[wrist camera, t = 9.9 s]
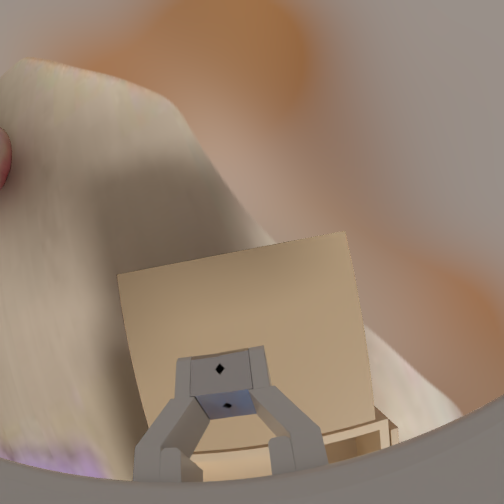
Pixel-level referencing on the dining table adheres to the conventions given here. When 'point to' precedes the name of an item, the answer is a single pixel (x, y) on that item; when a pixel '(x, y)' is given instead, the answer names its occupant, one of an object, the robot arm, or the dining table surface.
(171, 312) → the flap
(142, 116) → the dining table surface
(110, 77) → the dining table surface
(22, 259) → the dining table surface
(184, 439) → the robot arm
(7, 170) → the decorative fruit
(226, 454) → the carton
